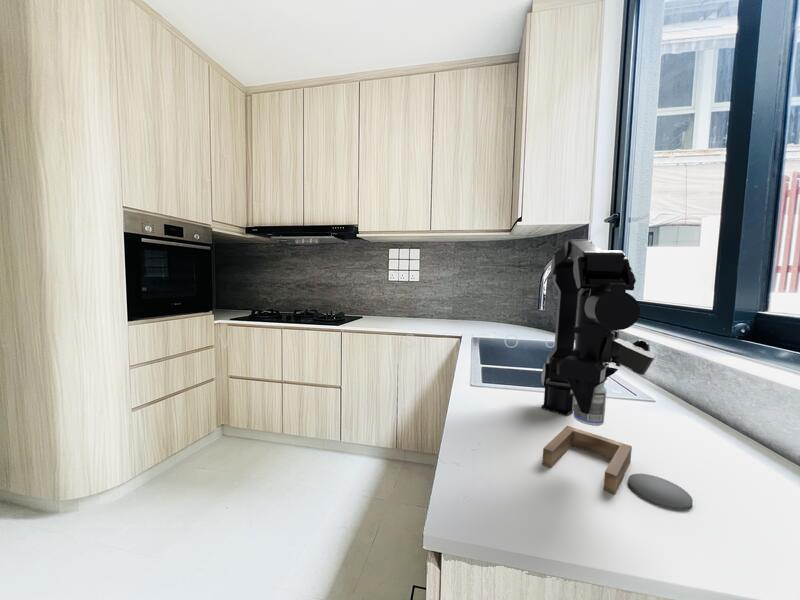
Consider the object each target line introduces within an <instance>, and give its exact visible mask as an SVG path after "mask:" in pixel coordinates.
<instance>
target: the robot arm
mask: <svg viewBox="0 0 800 600" xmlns="http://www.w3.org/2000/svg"><path fill="white" fill-rule="evenodd" d="M550 275H551V276H552V283H553V284H554V286H555V288H556V290H557V291H558V292H557V293H558V294H557V307H556V320H555V337H554V347H553V348H552V349H551V350H550V352H549V353H548V354H547V355H546V362H544V363H543V367H542V371H541V375H540V376H541V377H540V379H541V381H540V382H541V384H542V386H543V387H544V394H543V395H544V397H543V404H541V406H540V408H541V409H543V410H548V411H551V412H554V413H558V414H559V415H560V414H561V415H564V416H569V415H570V414H571V413H572V412H574V401H575V398H576V401H577V403H578V406H579V408H580V410H581V412H582V413H585V414H588V413H589V411H590V408H591V404H592V401H593V397H594V393H595V390H596V387H597V386H598V385H600V384H602V383H603V382H605V383H606V381H607V380H608V378H609V377H610V376H612V375H614V374H616V372H618V370H619V369H618V368H615V367H612V366H611V367H610V364H611V363H612V364H615V366H616V367H622V366H624V367H626V368H628V369H630V370H632V372H634V373H636V374H638V375H641V376H644V375H645V374H646V373H647V371H648V369H649V368H650V366H651V365H652V363H653V362H654V361H655V358H656V357H657V355H656V354H655V352H654V351H651V349H650V343H649V342H647V341H645V340H643V339H638V340H636V341H635V342H633V343H631V342H630V341H629V340H627V341H626V340H624V339H621V338H619V336H620V332H619V331H621V330H626V329H629V328H630V327H632V326H634V325H635V324H636V322H637V321H638V319H639V318H640V314H641V308H640V305H639V302H638V301H637V300H636V298H635V297H634V296H633V295H631V294H630V293H628V292H626V291H634V290H635V284H636V281H637V280H636V277H635V274H634V272H633V268H632V266H631V264H630V262H629V258H628V257H626V254H625V253H624V251H623V250H603V249H601V248H600V247H598V246H597V245H596V244H594V243H593V241H592V240H590V239H569V240H565V243H564V246H563V247H561V248H560V249H559V250H557V251H556V252H555V253H554V254H553V256H552V259H551V263H550ZM604 377H605V378H604ZM603 386H604V387H605V384H604V385H603Z"/></svg>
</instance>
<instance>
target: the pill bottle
mask: <svg viewBox="0 0 800 600" xmlns="http://www.w3.org/2000/svg"><path fill="white" fill-rule="evenodd" d="M604 378H605V377H604ZM605 384H606V381H605V382H603V383H602V384H600V385H598V386H597V387H596V390H595V393H594V397H593V401H592V404H591V408H590V411H589V413H588V414H585V413H582V412H581V410H580V408H579V406H578V403H577V401H576V398H575V401H574V410H573V418H574V419H575V420H576V422H579V423H582V424H584V425H587V426H592V427H599V426H602V425H604V423H605V415H606V414H605V413H606V403H607V389H606V387H605ZM603 385H604V386H603Z"/></svg>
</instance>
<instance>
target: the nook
mask: <svg viewBox="0 0 800 600" xmlns="http://www.w3.org/2000/svg"><path fill="white" fill-rule="evenodd" d="M572 446H573V447H577V448H580V449H583V450H585V451H589V452H591V453H594V454H597V455H600V456H603V457H606V458H608V459H611V460H610V462H609V464H608V465H607V467H606V469H605V471H604V478H603V479H604V480H603V487H602V488H603V490H604V491H606V492H609V493H610V494H614V495H616V494H617V492H618V489H619V487H620V485H621V483H622V481H623V479H624V476H625V474H626V472H627V470H628V468H629V466H630V465H631V459H632V450H633V449H632V445H629V444H627V443H623V442H620V441H617V440H614V439H611V438H607V437H606V436H601V435H598V434H594V433H592V432H588V431H585V430H582V429H580V428H576V427H574V426H570V425H566V426H565V427H564V428H563V429H562V430H561V431H560V432H559V433H558V434H557V435H555V436H554V437H553V439H552V440H550V441H549V442H548V443H547V444H546V445H545V446H544V447H543V449H542V459H541V460H542V463H541V465H544V466H546V467H549V468H553V467H554V466H555V465H556V464H557V463H558V461H559V460H560V459H561V458H562V457H563V456H564V455H565V454H566V453H567V451H569V449H570V448H571V447H572Z"/></svg>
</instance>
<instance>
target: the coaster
mask: <svg viewBox="0 0 800 600" xmlns="http://www.w3.org/2000/svg"><path fill="white" fill-rule="evenodd" d="M627 483H628V486H629V488H630V489H631V490H632V492H633V493H635V494H637V495H638V496H639V497H641V498H642V499H644V500H646V501H648V502H650V503H652V504H655V505H658V506H659V507H663V508H666V509H671V510H676V511H685V510H689V509H691V508H692V507H693V497H692V496H691V494H689V492H688V491H686V490H685V489H683V488H682V487H681V486H679V485H677V484H676V483H674V482H672V481H669V480H667V479H664V478H662V477H661V476H660V477H659V476H657V475H656V476H655V475H651V474H647V473H633V474H630V475H629V476H628V478H627Z"/></svg>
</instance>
